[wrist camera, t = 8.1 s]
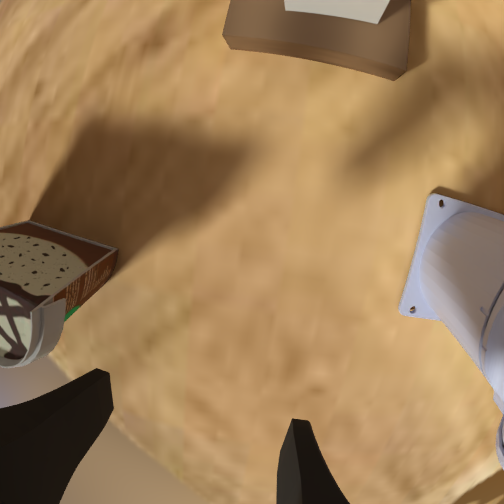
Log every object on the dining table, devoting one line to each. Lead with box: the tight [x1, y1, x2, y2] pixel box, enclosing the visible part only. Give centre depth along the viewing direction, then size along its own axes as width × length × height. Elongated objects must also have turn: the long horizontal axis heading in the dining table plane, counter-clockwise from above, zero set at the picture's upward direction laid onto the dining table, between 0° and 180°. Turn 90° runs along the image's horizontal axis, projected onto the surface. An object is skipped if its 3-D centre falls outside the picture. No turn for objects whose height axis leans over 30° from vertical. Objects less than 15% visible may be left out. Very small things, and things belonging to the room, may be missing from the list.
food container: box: [0, 220, 118, 368], centre depth 17 cm, size 12×6×10 cm, turn 78°
